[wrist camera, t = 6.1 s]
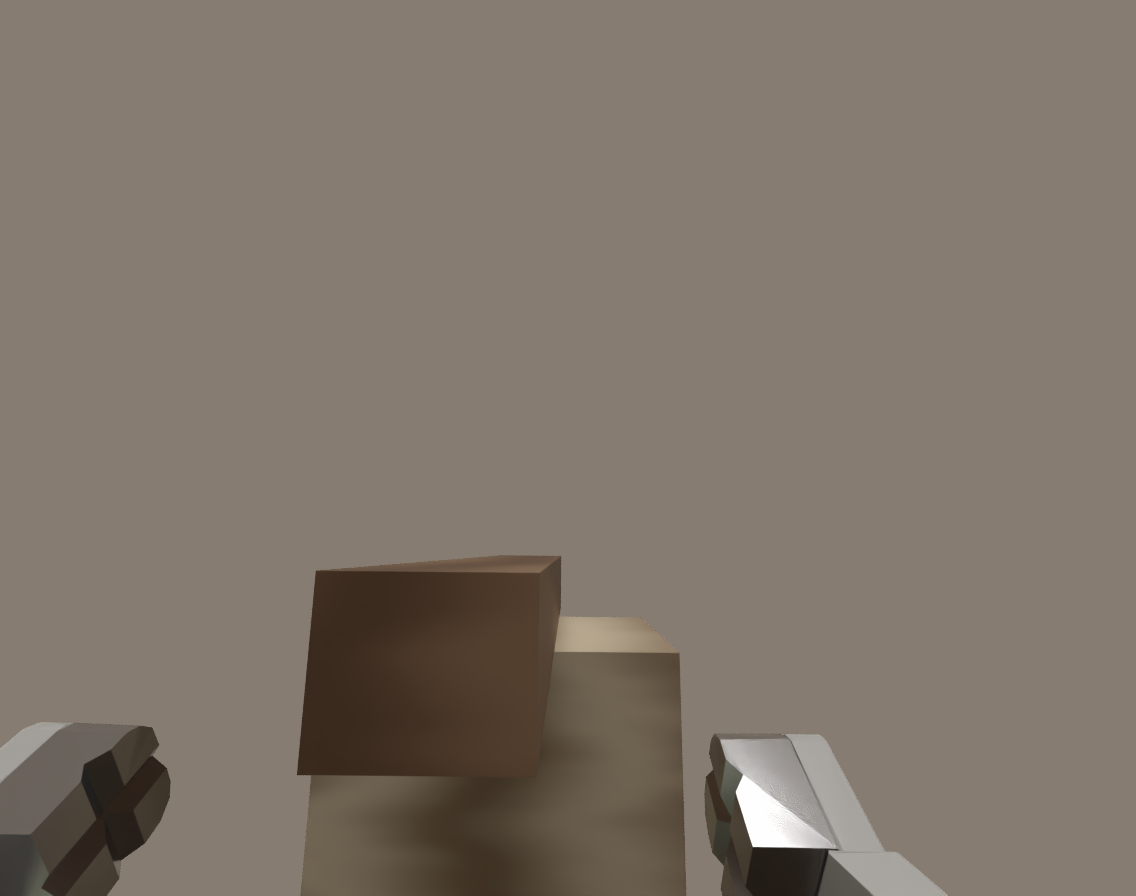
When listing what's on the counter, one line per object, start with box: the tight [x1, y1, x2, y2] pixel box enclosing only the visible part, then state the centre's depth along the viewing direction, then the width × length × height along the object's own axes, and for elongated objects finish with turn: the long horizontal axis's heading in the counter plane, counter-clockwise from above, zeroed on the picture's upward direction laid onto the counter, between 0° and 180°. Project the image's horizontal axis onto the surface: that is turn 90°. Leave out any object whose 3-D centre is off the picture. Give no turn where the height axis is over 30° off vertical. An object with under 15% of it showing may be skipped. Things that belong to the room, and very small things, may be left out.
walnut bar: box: [297, 556, 561, 777], centre depth 17 cm, size 3×20×2 cm, turn 0°
